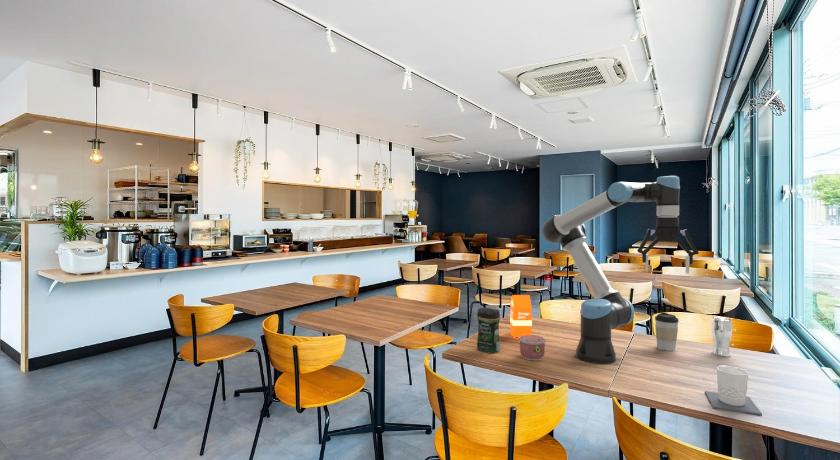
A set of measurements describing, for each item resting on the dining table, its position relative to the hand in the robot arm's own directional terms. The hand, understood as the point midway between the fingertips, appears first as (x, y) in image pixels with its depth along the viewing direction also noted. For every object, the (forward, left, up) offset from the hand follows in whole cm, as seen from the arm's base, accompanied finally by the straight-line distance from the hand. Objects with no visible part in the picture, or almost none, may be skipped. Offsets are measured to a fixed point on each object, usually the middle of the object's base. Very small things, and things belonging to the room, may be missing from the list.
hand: (666, 272), depth 162 cm
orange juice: (-59, +19, -37) cm, 72 cm away
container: (-49, -10, -37) cm, 62 cm away
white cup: (+15, -28, -36) cm, 48 cm away
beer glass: (+23, +24, -37) cm, 50 cm away
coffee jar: (-68, -8, -37) cm, 78 cm away
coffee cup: (+3, +24, -37) cm, 44 cm away
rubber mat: (+15, -29, -37) cm, 49 cm away
